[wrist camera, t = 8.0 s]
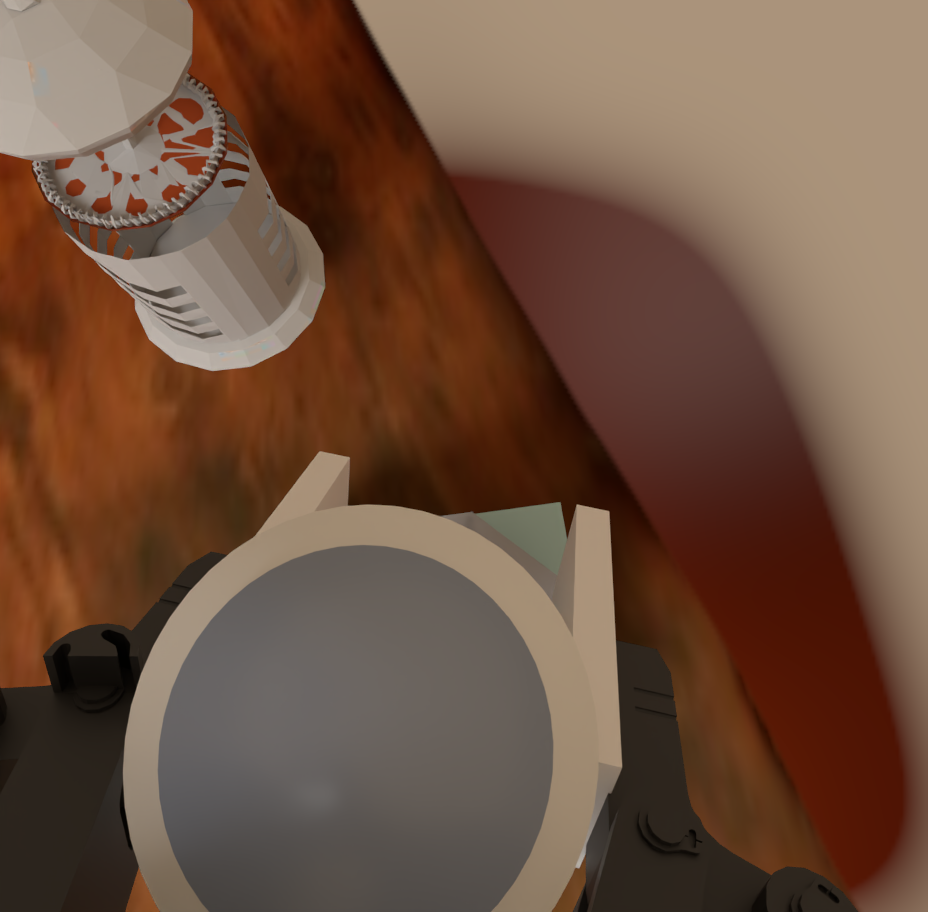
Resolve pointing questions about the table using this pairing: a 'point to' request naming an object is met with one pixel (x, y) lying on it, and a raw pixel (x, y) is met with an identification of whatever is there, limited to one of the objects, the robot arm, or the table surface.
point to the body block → (524, 537)
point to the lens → (362, 727)
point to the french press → (154, 176)
